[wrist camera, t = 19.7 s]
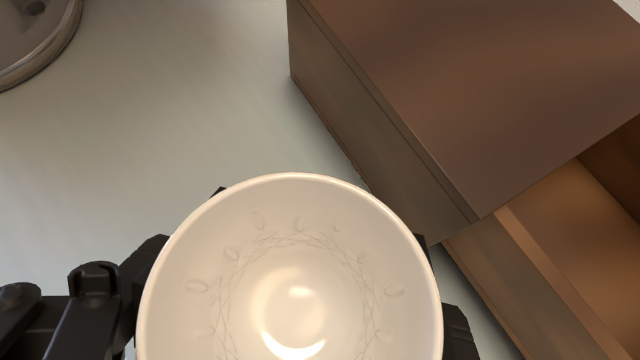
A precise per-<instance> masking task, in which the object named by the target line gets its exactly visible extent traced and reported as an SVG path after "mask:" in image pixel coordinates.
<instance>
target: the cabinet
mask: <svg viewBox="0 0 640 360" xmlns="http://www.w3.org/2000/svg"><path fill="white" fill-rule="evenodd" d="M286 5H287V23H288V42H289V61H290V75H291V77H292V78H293V80H294V81H295V82H296V84H297V85H298V87H299V88H300V90H301V91H302V92H303V94H304V95H305V97H306V98H307V100H308V101H309V102H310V104H311V105H312V107H313V108H314V110H315V111H316V112H317V114H318V115H319V117H320V118H321V120H322V121H323V122H324V124H325V125H326V127H327V128H328V130H329V131H330V132H331V134H332V135H333V137H334V138H335V140H336V141H337V142H338V144H339V145H340V147H341V148H342V150H343V151H344V152H345V154H346V155H347V157H348V158H349V160H350V161H351V162H352V164H353V165H354V167H355V168H356V170H357V171H358V172H359V174H360V175H361V177H362V178H363V180H364V181H365V182H366V184H367V185H368V187H369V188H370V190H371V191H372V192H373V194H374V195H375V197H376V198H377V199H378V200H380V201H381V202H382V203H384V204H385V205H386V206H387V207H388V208H390V209H391V210H392V211H393V212H394V213H395V214H396V215H397V216H398V217H399V218H400V219H401V220H402V221H403V223H404V224H405V225H406V226H407V227H408V229H409V230H410V231H411V232H412V233H417V234H421V235H424V238H425V242H426V246H427V248H429V247H431V246H433V245H435V244H437V243H439V242H441V241H443V240H445V239H447V238H448V237H450V236H452V235H454V234H456V233H458V232H460V231H462V230H464V229H466V228H468V227H469V226H471V225H473V224H475V223H477V222H479V221H481V220H483V219H484V218H486V217H487V216H489V215H490V214H492V213H493V212H494V211H496V210H497V209H499V208H500V207H502V206H503V205H505V204H506V203H508V202H509V201H511V200H512V199H514V198H515V197H517V196H518V195H520V194H521V193H523V192H524V191H526V190H527V189H528V188H530V187H531V186H533V185H534V184H536V183H537V182H539V181H540V180H542V179H543V178H545V177H546V176H548V175H549V174H551V173H552V172H554V171H555V170H557V169H558V168H560V167H561V166H562V165H564V164H565V163H567V162H568V161H570V160H571V159H573V158H574V157H576V156H577V155H579V154H580V153H582V152H583V151H585V150H586V149H588V148H589V147H591V146H592V145H594V144H595V143H596V142H598V141H599V140H601V139H602V138H604V137H605V136H607V135H608V134H610V133H611V132H613V131H614V130H616V129H617V128H619V127H620V126H622V125H623V124H625V123H626V122H627V121H629V120H630V119H632V118H633V117H635V116H636V115H638V114H639V113H640V24H639V23H638V22H637V21H636V20H635V19H634V18H632V17H631V16H630V15H629V14H628V13H627V12H625V11H624V10H623V9H622V8H621V7H620V6H619V5H617V4H616V3H615V2H614V1H613V0H286Z"/></svg>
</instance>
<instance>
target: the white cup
mask: <svg viewBox="0 0 640 360" xmlns="http://www.w3.org/2000/svg"><path fill="white" fill-rule="evenodd" d="M443 338H444V328H443V314H442V306H441V300H440V295H439V291H438V287H437V284H436V280H435V277H434V274H433V272H432V269H431V267H430V264H429V262H428V260H427V258H426V256H425V254H424V252H423V250H422V248H421V246H420V245H419V243H418V241H417V240H416V238H415V237H414V235H413V234H412V233H411V231H410V230H409V229H408V227H407V226H406V225H405V224H404V223H403V221H402V220H401V219H400V218H399V217H398V216H397V215H396V214H395V213H394V212H393V211H392V210H391V209H390V208H388V207H387V206H386V205H385V204H384V203H382V202H381V201H380V200H378V199H377V198H376V197H374V196H373V195H371V194H369V193H368V192H366V191H364V190H363V189H361V188H359V187H357V186H355V185H353V184H350V183H348V182H346V181H343V180H340V179H337V178H334V177H330V176H326V175H321V174H315V173H307V172H281V173H273V174H267V175H262V176H258V177H254V178H251V179H248V180H245V181H242V182H240V183H237V184H235V185H233V186H231V187H229V188H227V189H225V190H223V191H221V192H219V193H218V194H216V195H214V196H213V197H211V198H210V199H208V200H207V201H206V202H204V203H203V204H202V205H200V206H199V207H198V208H197V209H196V210H195V211H193V212H192V213H191V214H190V215H189V216H188V217H187V218H186V219H185V220H184V221H183V222H182V223H181V224H180V226H179V227H178V228H177V229H176V230H175V231H174V233H173V234H172V235H171V237H170V238H169V239H168V241H167V242H166V244H165V245H164V247H163V248H162V250H161V252H160V253H159V255H158V257H157V259H156V261H155V263H154V265H153V267H152V269H151V271H150V274H149V276H148V279H147V281H146V284H145V287H144V290H143V294H142V297H141V301H140V306H139V311H138V317H137V325H136V360H442V353H443Z"/></svg>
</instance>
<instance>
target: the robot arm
mask: <svg viewBox="0 0 640 360" xmlns="http://www.w3.org/2000/svg"><path fill="white" fill-rule="evenodd" d="M81 12H82V0H0V91H3V90H5V89H8V88H10V87H12V86H14V85H16V84H18V83H20V82H22V81H24V80H26V79H27V78H29V77H31V76H32V75H34V74H35V73H37V72H38V71H40V70H41V69H42V68H44V67H45V66H46V65H47V64H49V63H50V62H51V61H52V60H53V59H54V58H55V57H56V56H57V55H58V54H59V53H60V52H61V51H62V50H63V48H64V47H65V46H66V45H67V43H68V42H69V40H70V39H71V37H72V36H73V34H74V32H75V30H76V28H77V26H78V23H79V20H80V17H81ZM225 189H227V188H225V187H220V188H219V189H218V190H217V191H216V192H215V193H214V194H213V195H212V196H211V197H213V196H214V195H216V194H218V193H219V192H221V191H223V190H225ZM211 197H210V198H211ZM210 198H209V199H210ZM411 233H412V232H411ZM412 234H413V235H414V237H415V238H416V240H417V241H418V243H419V245H420V246H421V248H422V250H423V252H424V254H425V256H426V258H427V260H428V262H429V264H430V267H431V269H432V265H431V261H430V257H429V253H428V250H427V246H426V242H425V238H424V235H421V234H417V233H412ZM169 238H170V236H166V235H162V234H158V235H156V236H154V237H152V238H150V239H147V240H146V241H145V242H144V243H143V244H142V245H141V246H140V247H139V248H138V249H137V250H136V251H134V252H133V253H132V254H131V255H130V257H128V258H127V259H126V260H125V261H124V262H123V263H122V264H121V265H120V266H119V267H118V265H117V264H114V263H112V262H109V261H94V262H89V263H86V264H83V265H80V266H79V267H77V268H75V269H74V270H72V271H71V273H70V274H69V275H68V276H67V279H68V286H69V294H70V295H69V296H42V294H41V289H40V288H39V287H38V286H37V285H36V284H32V283H29V282H18V283H13V284H8V285H5V286H2V287H0V360H124V358H125V346H126V345H127V343H128V342H129V341H130V339H131V338H132V337H133V335H134V348H136V325H137V317H138V311H139V306H140V301H141V297H142V294H143V290H144V287H145V284H146V281H147V279H148V276H149V274H150V271H151V269H152V267H153V265H154V263H155V261H156V259H157V257H158V255H159V253H160V252H161V250H162V248H163V247H164V245H165V244H166V242H167V241H168V239H169ZM432 272H433V269H432ZM433 274H434V272H433ZM434 277H435V276H434ZM440 300H441V299H440ZM441 306H442V314H443V328H444V338H443V353H442V360H480V357H479V354H478V351H477V348H476V345H475V343H474V339H473V336H472V333H471V332H470V327H469V324H468V321H467V318H466V317H465V316H464V314H463V313H462V312H461V310H460V309H459V308H458V306H454V305H450V304H446V303H442V302H441Z"/></svg>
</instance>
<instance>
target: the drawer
mask: <svg viewBox="0 0 640 360" xmlns="http://www.w3.org/2000/svg"><path fill="white" fill-rule="evenodd" d="M441 244H442V245H443V246H444V248H445V249H446V250H447V252H448V253H449V254H450V256H451V257H452V259H453V260H454V261H455V263H456V264H457V265H458V267H459V268H460V270H461V271H462V272H463V274H464V275H465V276H466V278H467V279H468V280H469V282H470V283H471V285H472V286H473V287H474V289H475V290H476V291H477V293H478V294H479V296H480V297H481V298H482V300H483V301H484V302H485V304H486V305H487V306H488V308H489V309H490V311H491V312H492V313H493V315H494V316H495V317H496V319H497V320H498V322H499V323H500V324H501V326H502V327H503V328H504V330H505V331H506V332H507V334H508V335H509V337H510V338H511V339H512V341H513V342H514V343H515V345H516V346H517V348H518V349H519V350H520V352H521V353H522V354H523V356H524V357H525V358H526V360H640V113H639V114H638V115H636V116H635V117H633V118H632V119H630V120H629V121H627V122H626V123H625V124H623V125H622V126H620V127H619V128H617V129H616V130H614V131H613V132H611V133H610V134H608V135H607V136H605V137H604V138H602V139H601V140H599V141H598V142H596V143H595V144H594V145H592V146H591V147H589V148H588V149H586V150H585V151H583V152H582V153H580V154H579V155H577V156H576V157H574V158H573V159H571V160H570V161H568V162H567V163H565V164H564V165H562V166H561V167H560V168H558V169H557V170H555V171H554V172H552V173H551V174H549V175H548V176H546V177H545V178H543V179H542V180H540V181H539V182H537V183H536V184H534V185H533V186H531V187H530V188H528V189H527V190H526V191H524V192H523V193H521V194H520V195H518V196H517V197H515V198H514V199H512V200H511V201H509V202H508V203H506V204H505V205H503V206H502V207H500V208H499V209H497V210H496V211H494V212H493V213H492V214H490V215H489V216H487V217H486V218H484V219H483V220H481V221H479V222H477V223H475V224H473V225H471V226H469V227H468V228H466V229H464V230H462V231H460V232H458V233H456V234H454V235H452V236H450V237H448V238H447V239H445V240H443V241H441Z"/></svg>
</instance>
